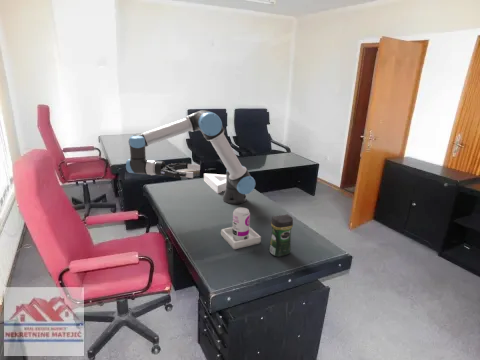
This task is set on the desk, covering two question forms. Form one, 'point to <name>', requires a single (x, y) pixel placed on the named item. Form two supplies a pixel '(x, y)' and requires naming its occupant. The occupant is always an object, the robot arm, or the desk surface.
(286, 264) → the desk surface
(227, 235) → the tray
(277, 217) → the coffee jar
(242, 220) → the supplement can
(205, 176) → the triangle block
